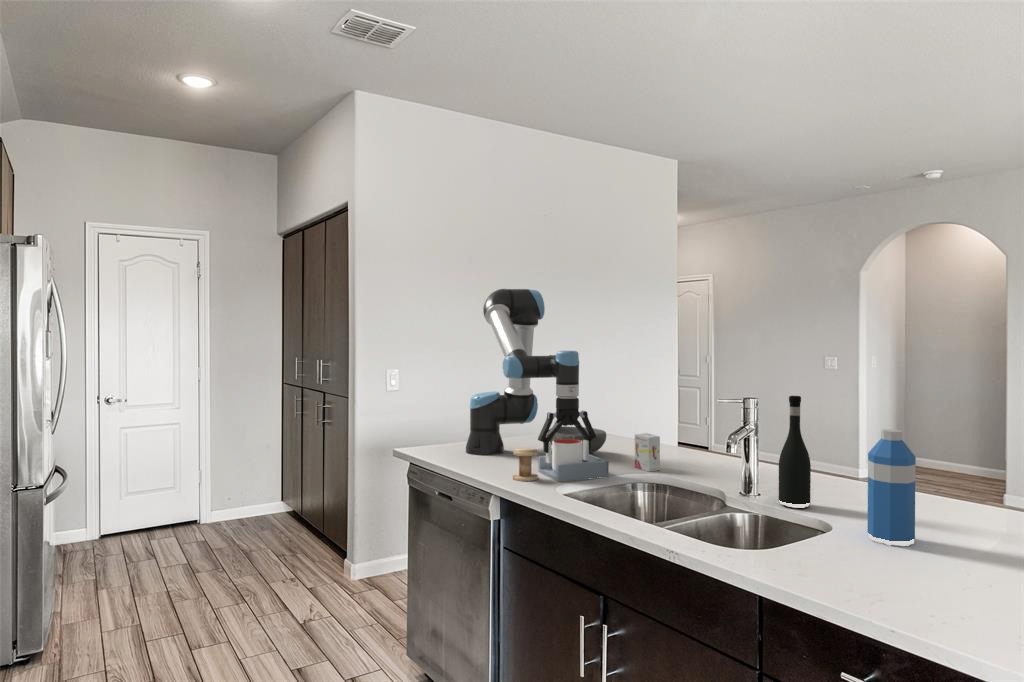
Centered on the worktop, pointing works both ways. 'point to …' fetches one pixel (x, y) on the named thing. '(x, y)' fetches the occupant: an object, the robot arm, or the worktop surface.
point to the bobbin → (525, 465)
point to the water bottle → (891, 488)
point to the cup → (566, 451)
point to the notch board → (575, 469)
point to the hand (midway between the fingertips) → (567, 461)
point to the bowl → (581, 436)
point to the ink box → (647, 452)
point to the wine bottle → (794, 461)
